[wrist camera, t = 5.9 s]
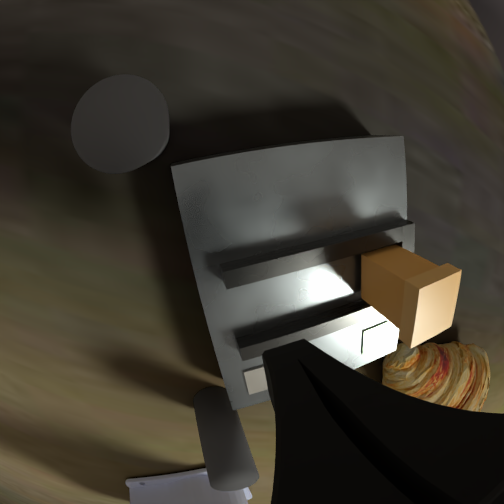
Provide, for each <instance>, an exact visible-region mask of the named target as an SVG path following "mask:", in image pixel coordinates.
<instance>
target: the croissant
mask: <svg viewBox="0 0 504 504" xmlns="http://www.w3.org/2000/svg"><path fill="white" fill-rule="evenodd" d="M382 365H383V379H382V384H383V385H385V386H387V387H389V388H392V389H394V390H396V391H399V392H401V393H404V394H407V395H410V396H413V397H416V398H418V399H421V400H425V401H428V402H432V403H435V404H439V405H444V406H448V407H453V408H457V409H463V410H469V411H476V412H480V411H481V409H482V406H483V404H484V401H485V400H486V398H487V394H488V389H489V385H490V383H489V382H490V368H489V363H488V357H487V354H486V352H485V351H484V350H483V349H482V348H480V347H478V346H476V345H475V344H468V345H463V344H461V343H460V342H457V341H452V342H451V343H447V344H439V345H437V344H436V343H426V344H424V345H422V346H421V345H418V346H415V347H413V348H411V349H410V348H409V347H408V346H407V345H406V344H404V343H401V344H398V345H397V348H396V351H394V352H391V353H389V354H387V355H386V356H385V359H384V362H383V364H382Z"/></svg>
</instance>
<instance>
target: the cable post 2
mask: <svg viewBox="0 0 504 504" xmlns="http://www.w3.org/2000/svg"><path fill="white" fill-rule="evenodd" d="M193 403H194V409H195V415H196V420H197V426H198V431H199V436H200V441H201V446H202V451H203V456H204V461H205V465H206V470H207V474H208V479H209V483H210V486H211V487H212V488H213V489H215V490H218V491H236V490H241V489H244V488H247V487H249V486H251V485H253V484H254V483H255V482H256V481H257V480H258V479H259V474H258V471H257V468H256V465H255V463H254V460H253V457H252V454H251V451H250V448H249V446H248V443H247V440H246V437H245V434H244V431H243V428H242V425H241V422H240V419H239V416H238V413H237V410H233V409H232V406H231V403H230V399H229V396H228V393H227V390H226V389H225V388H222V387H208V388H205V389H202V390H201V391H199V392H198V393H197V394H196V395H195V397H194V399H193Z"/></svg>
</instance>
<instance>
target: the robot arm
mask: <svg viewBox="0 0 504 504" xmlns="http://www.w3.org/2000/svg"><path fill="white" fill-rule="evenodd" d="M262 360H263V365H264V371H265V376H266V381H267V387H268V392H269V396H270V399H271V402H272V405H273V408H274V411H275V420H276V457H275V472H274V483H273V492H272V500H271V504H504V414H498V413H486V412H476V411H469V410H463V409H457V408H453V407H448V406H444V405H439V404H435V403H432V402H428V401H425V400H421V399H418V398H416V397H413V396H410V395H407V394H404V393H401V392H399V391H396V390H394V389H392V388H389V387H387V386H385V385H383V384H381V383H379V382H376V381H374V380H372V379H370V378H368V377H366V376H365V375H363V374H361V373H359V372H357V371H355V370H354V369H352V368H350V367H348V366H347V365H345V364H343V363H341V362H340V361H338V360H337V359H335V358H333V357H332V356H330V355H329V354H327V353H325V352H324V351H322V350H321V349H319V348H318V347H316V346H315V345H313V344H312V343H310V342H309V341H307V340H305V339H301V340H298V341H294V342H291V343H288V344H285V345H282V346H279V347H275V348H272V349H269V350H265V351H264V352H263V354H262ZM125 484H126V485H127V486H128V487H129V492H130V504H248V502H247V500H249V499H251V498H252V494H251V492H250V490H249V488H248V487H247V488H244V489H241V490H236V491H218V490H215V489H213V488H212V487H211V486H210V483H209V479H208V474H207V470H206V468H202V469H197V470H192V471H186V472H180V473H174V474H167V475H160V476H152V477H143V478H133V479H127V480H126V481H125Z"/></svg>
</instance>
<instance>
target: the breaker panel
mask: <svg viewBox="0 0 504 504" xmlns="http://www.w3.org/2000/svg"><path fill="white" fill-rule="evenodd" d="M171 170H172V175H173V180H174V185H175V190H176V195H177V200H178V205H179V209H180V214H181V219H182V223H183V228H184V232H185V237H186V241H187V245H188V250H189V254H190V258H191V262H192V266H193V271H194V275H195V279H196V283H197V287H198V291H199V294H200V298H201V302H202V306H203V310H204V314H205V317H206V321H207V325H208V328H209V332H210V336H211V339H212V343H213V346H214V350H215V353H216V357H217V360H218V363H219V367H220V370H221V373H222V377H223V380H224V383H225V387H226V390H227V393H228V396H229V399H230V403H231V406H232V409H233V410H237V409H240V408H244V407H247V406H251V405H254V404H258V403H261V402H265V401H268V400H271V399H270V396H269V392H268V387H267V381H266V376H265V371H264V365H263V360H262V354H263V352H264V351H265V350H269V349H272V348H275V347H279V346H282V345H285V344H288V343H291V342H294V341H298V340H301V339H305V340H307V341H309V342H310V343H312V344H313V345H315V346H316V347H318V348H319V349H321V350H322V351H324V352H325V353H327V354H329V355H330V356H332V357H333V358H335V359H337V360H338V361H340V362H341V363H343V364H345V365H347V366H348V367H350V368H352V369H356V368H358V367H361V366H363V365H365V364H367V363H370V362H372V361H374V360H376V359H379V358H381V357H383V356H385V355H387V354H389V353H391V352H394V351H396V348H397V341H398V334H399V329H398V328H397V327H396V326H395V325H393V324H392V323H391V322H390V321H389V320H387V319H386V318H385V317H384V316H383V315H381V314H380V313H379V312H378V311H377V310H375V309H374V308H373V307H372V306H371V305H369V304H368V303H367V302H366V301H364V300H363V299H362V298H361V254H364V253H367V252H371V251H374V250H377V249H381V248H384V247H388V246H391V245H394V244H396V245H398V246H400V247H402V248H404V249H406V250H408V251H410V252H412V253H414V241H415V223H413V222H411V221H408V220H407V186H406V164H405V149H404V137H403V136H387V135H367V136H352V137H340V138H329V139H319V140H309V141H300V142H292V143H284V144H277V145H270V146H263V147H256V148H250V149H244V150H238V151H232V152H226V153H221V154H215V155H210V156H205V157H200V158H195V159H190V160H185V161H180V162H176V163H171Z"/></svg>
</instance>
